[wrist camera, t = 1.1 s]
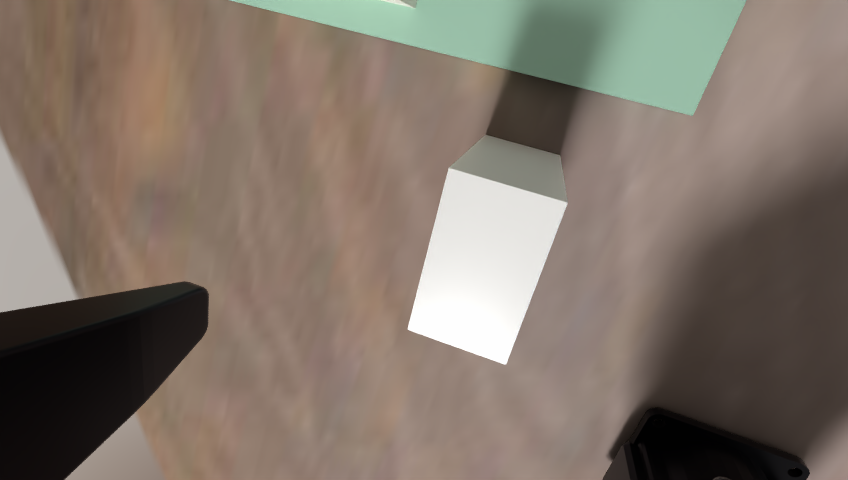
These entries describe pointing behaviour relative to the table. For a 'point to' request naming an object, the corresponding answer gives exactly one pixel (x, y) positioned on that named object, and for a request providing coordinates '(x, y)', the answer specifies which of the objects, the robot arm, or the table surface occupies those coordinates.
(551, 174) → the plug
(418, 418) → the table surface
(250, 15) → the table surface
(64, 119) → the table surface
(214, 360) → the table surface
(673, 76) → the board
